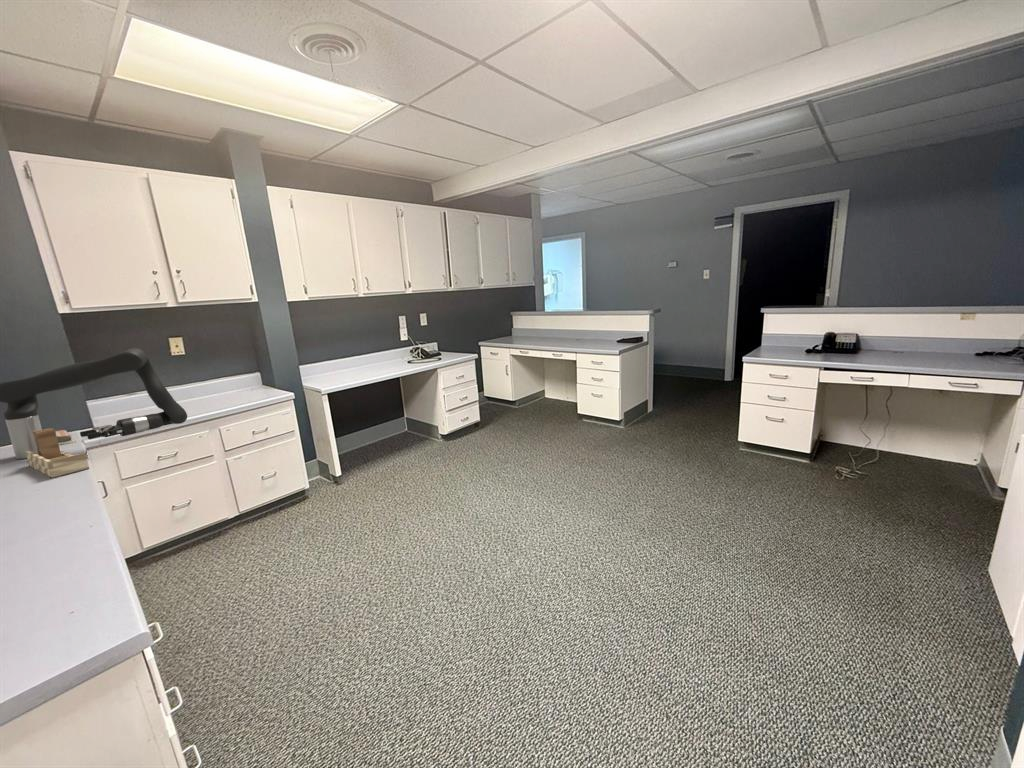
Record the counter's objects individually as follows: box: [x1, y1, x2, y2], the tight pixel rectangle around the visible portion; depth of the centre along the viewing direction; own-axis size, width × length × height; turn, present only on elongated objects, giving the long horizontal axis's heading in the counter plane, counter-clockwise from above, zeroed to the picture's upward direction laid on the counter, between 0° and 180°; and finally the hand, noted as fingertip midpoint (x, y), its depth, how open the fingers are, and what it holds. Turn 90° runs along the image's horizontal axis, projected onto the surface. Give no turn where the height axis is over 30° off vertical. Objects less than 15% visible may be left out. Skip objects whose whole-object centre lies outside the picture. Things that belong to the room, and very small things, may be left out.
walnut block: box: [33, 427, 61, 459], centre depth 166 cm, size 5×5×14 cm
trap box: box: [26, 450, 90, 479], centre depth 163 cm, size 28×10×6 cm, turn 60°
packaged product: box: [55, 429, 77, 446], centre depth 200 cm, size 18×5×10 cm
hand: (84, 435), depth 175 cm, fingers open, 8 cm apart
